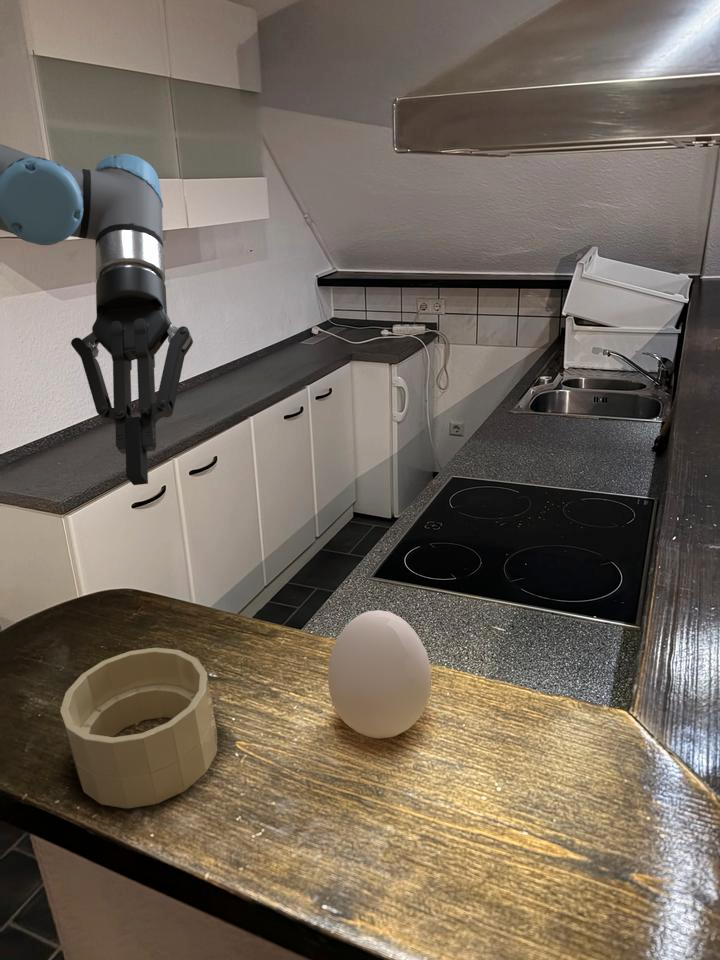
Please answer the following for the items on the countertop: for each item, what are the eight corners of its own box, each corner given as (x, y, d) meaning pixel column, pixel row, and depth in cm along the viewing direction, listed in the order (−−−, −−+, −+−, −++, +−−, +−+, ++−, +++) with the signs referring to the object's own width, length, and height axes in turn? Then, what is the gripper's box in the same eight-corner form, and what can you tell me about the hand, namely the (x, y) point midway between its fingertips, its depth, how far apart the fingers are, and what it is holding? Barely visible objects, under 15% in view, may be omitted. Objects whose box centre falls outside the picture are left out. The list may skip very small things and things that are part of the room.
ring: (69, 827, 58) (47, 752, 55) (93, 726, 68) (75, 658, 65) (217, 804, 59) (204, 729, 56) (219, 708, 69) (208, 640, 66)
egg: (395, 681, 71) (390, 576, 67) (453, 735, 65) (452, 622, 60) (314, 718, 67) (303, 609, 63) (366, 780, 61) (358, 663, 56)
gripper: (195, 295, 90) (207, 484, 82) (84, 307, 89) (85, 498, 81) (181, 257, 82) (193, 460, 75) (60, 269, 82) (59, 475, 74)
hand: (137, 480), depth 78 cm, fingers closed
